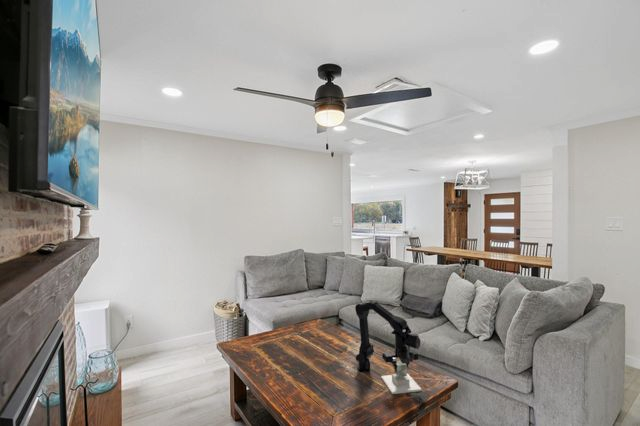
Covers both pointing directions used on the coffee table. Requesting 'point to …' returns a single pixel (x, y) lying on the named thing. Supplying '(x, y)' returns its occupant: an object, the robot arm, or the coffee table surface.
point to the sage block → (401, 369)
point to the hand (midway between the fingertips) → (400, 371)
